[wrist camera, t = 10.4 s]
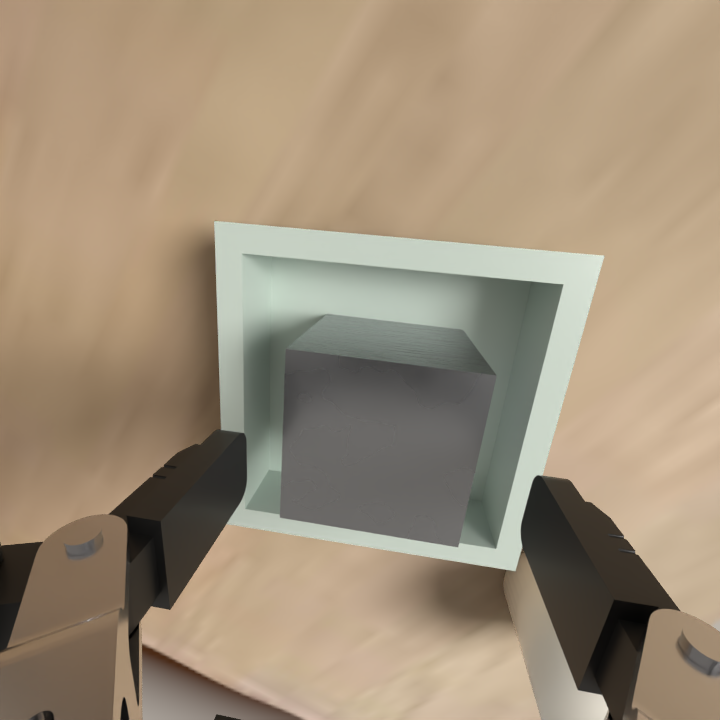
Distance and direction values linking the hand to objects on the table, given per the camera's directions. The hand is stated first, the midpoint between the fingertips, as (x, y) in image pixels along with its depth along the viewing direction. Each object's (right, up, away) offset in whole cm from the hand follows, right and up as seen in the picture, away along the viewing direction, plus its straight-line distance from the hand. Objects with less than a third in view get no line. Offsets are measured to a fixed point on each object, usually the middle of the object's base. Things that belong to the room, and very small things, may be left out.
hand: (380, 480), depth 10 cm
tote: (+1, +2, +8) cm, 8 cm away
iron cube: (+1, +2, +7) cm, 7 cm away
